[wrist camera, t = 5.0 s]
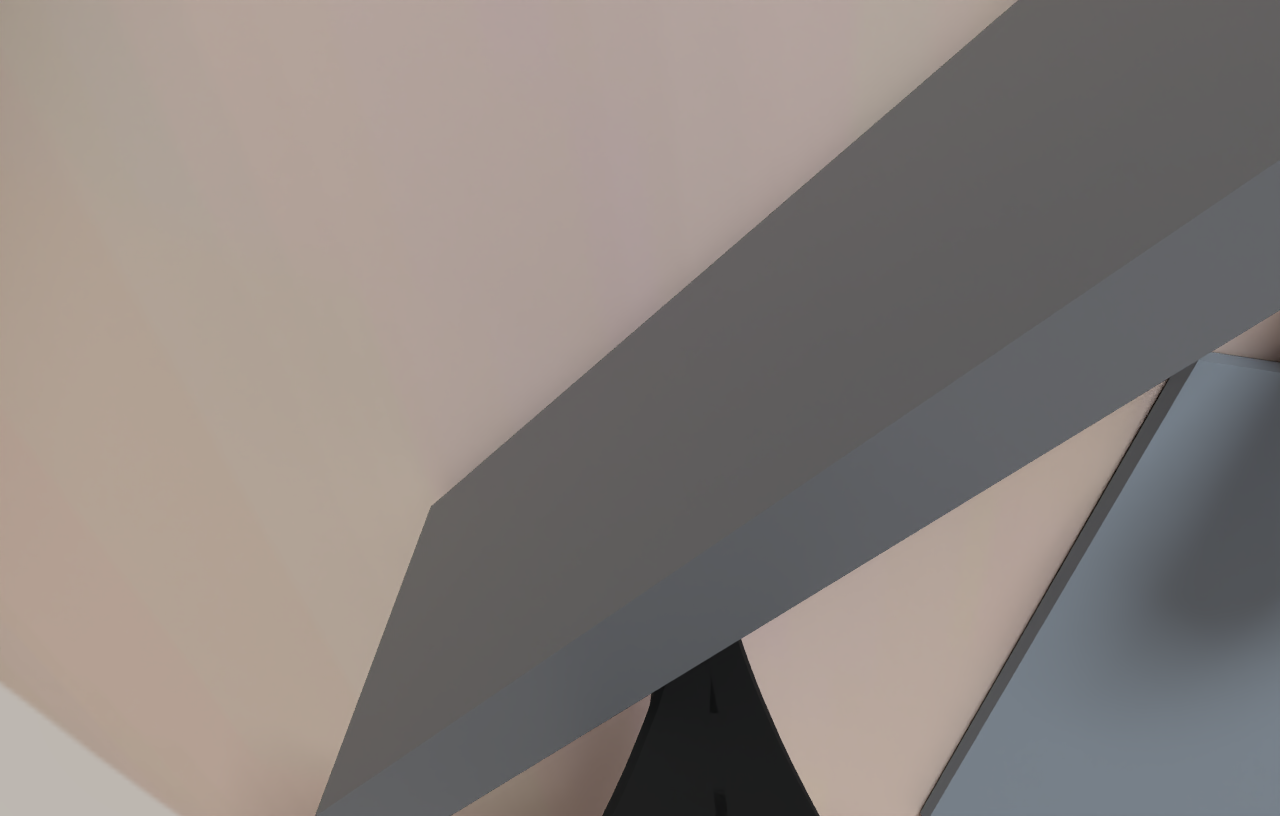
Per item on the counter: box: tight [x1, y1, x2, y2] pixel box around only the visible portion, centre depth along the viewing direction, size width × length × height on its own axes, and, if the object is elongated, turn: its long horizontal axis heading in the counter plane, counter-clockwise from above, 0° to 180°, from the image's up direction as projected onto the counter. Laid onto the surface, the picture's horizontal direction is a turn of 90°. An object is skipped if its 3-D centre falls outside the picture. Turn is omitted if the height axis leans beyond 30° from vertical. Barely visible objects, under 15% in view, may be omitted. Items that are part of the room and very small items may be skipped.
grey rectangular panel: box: [315, 0, 1280, 816], centre depth 10 cm, size 2×20×7 cm, turn 135°
